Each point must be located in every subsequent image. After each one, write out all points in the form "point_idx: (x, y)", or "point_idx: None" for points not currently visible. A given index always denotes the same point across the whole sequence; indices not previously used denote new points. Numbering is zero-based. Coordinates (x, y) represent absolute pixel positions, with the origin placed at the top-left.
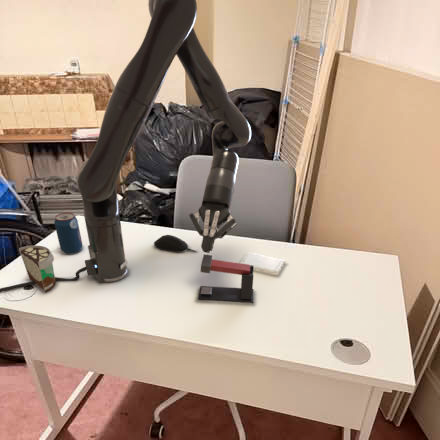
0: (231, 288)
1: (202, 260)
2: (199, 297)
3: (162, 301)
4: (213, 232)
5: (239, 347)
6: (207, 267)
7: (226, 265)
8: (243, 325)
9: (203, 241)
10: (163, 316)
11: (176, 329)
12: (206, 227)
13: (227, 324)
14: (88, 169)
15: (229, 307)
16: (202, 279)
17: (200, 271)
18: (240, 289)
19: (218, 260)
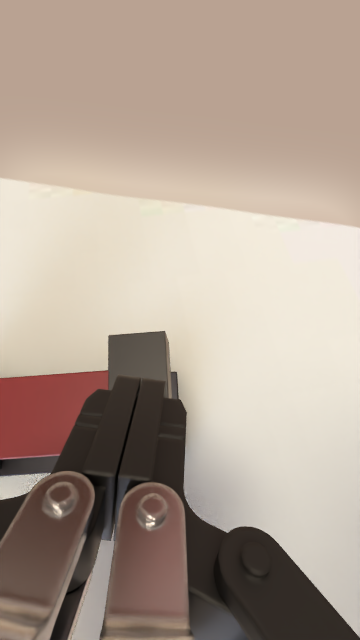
0: (44, 464)
1: (166, 394)
2: (171, 375)
3: (298, 357)
4: (28, 534)
5: (30, 187)
6: (126, 335)
7: (12, 404)
8: (13, 271)
9: (170, 448)
10: (266, 282)
11: (211, 233)
12: (144, 627)
13: (64, 270)
14: None
15: (58, 357)
16: None
17: (168, 342)
18: (3, 463)
19: None
